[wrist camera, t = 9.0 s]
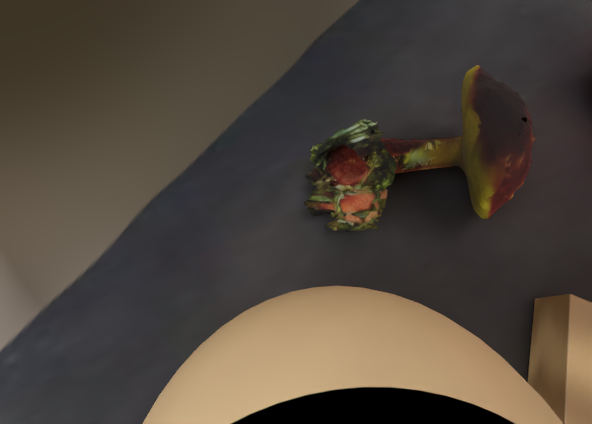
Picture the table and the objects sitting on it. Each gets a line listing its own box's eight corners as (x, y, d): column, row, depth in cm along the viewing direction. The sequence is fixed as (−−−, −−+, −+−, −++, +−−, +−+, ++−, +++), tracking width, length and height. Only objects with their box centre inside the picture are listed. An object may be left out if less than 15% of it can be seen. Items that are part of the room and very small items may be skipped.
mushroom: (350, 238, 32) (525, 242, 25) (288, 228, 22) (563, 231, 14) (353, 127, 34) (518, 99, 26) (297, 67, 23) (549, -10, 15)
